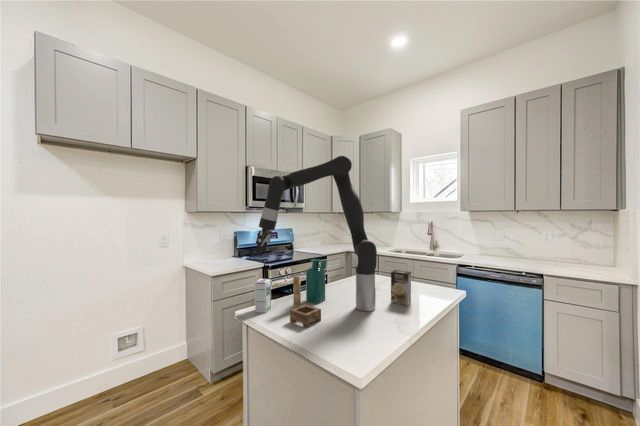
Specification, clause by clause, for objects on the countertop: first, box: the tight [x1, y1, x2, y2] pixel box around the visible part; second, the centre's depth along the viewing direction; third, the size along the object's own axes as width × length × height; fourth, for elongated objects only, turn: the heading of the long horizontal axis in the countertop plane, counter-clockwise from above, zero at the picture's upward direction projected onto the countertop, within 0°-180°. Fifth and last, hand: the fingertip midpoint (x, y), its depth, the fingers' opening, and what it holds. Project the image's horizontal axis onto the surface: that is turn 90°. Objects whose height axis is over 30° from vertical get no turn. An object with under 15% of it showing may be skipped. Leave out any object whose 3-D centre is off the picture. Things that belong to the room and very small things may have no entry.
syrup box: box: [254, 278, 272, 313], centre depth 128 cm, size 6×6×14 cm
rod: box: [292, 275, 302, 309], centre depth 128 cm, size 3×3×16 cm
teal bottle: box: [305, 258, 328, 304], centre depth 141 cm, size 10×8×22 cm
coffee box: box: [390, 269, 412, 306], centre depth 138 cm, size 9×6×16 cm
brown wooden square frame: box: [289, 304, 322, 329], centre depth 114 cm, size 9×9×5 cm
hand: (260, 252), depth 123 cm, fingers open, 8 cm apart
